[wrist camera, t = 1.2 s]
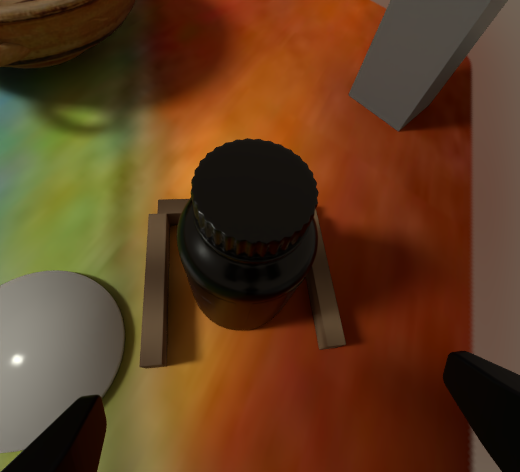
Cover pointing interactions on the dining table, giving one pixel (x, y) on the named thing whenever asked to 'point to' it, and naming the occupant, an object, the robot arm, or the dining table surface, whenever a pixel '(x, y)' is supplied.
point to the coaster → (53, 350)
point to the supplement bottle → (248, 231)
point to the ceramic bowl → (55, 29)
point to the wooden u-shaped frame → (158, 286)
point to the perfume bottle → (418, 54)
